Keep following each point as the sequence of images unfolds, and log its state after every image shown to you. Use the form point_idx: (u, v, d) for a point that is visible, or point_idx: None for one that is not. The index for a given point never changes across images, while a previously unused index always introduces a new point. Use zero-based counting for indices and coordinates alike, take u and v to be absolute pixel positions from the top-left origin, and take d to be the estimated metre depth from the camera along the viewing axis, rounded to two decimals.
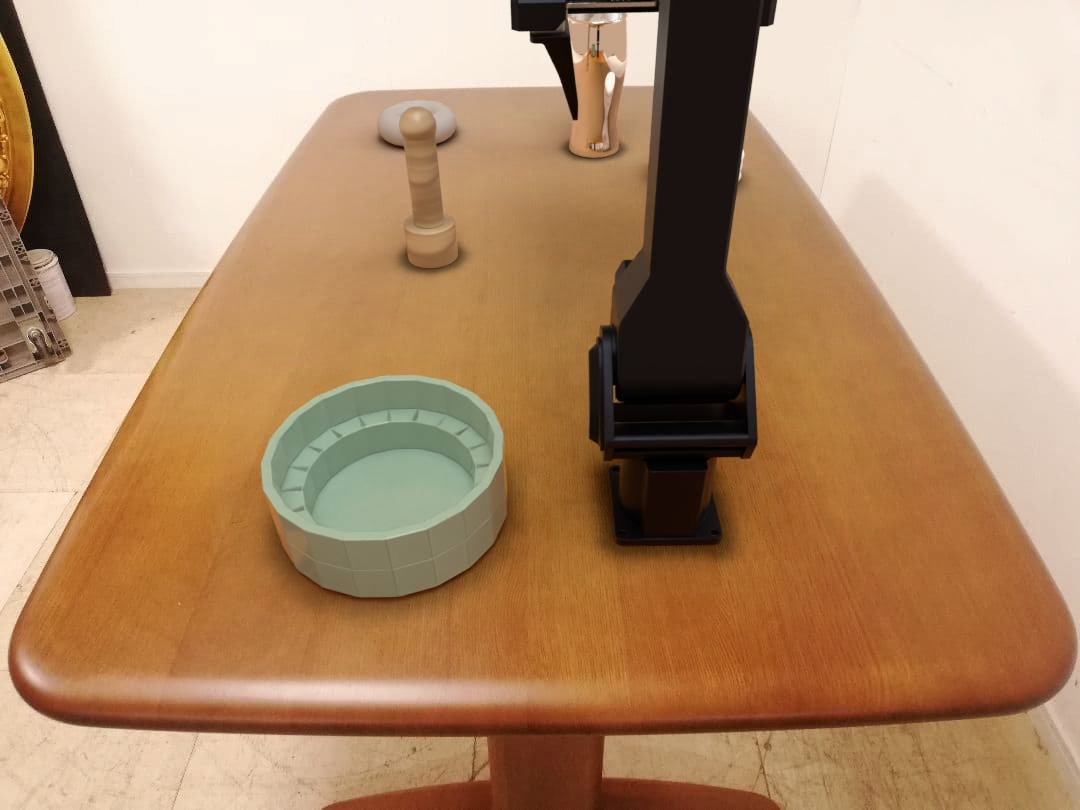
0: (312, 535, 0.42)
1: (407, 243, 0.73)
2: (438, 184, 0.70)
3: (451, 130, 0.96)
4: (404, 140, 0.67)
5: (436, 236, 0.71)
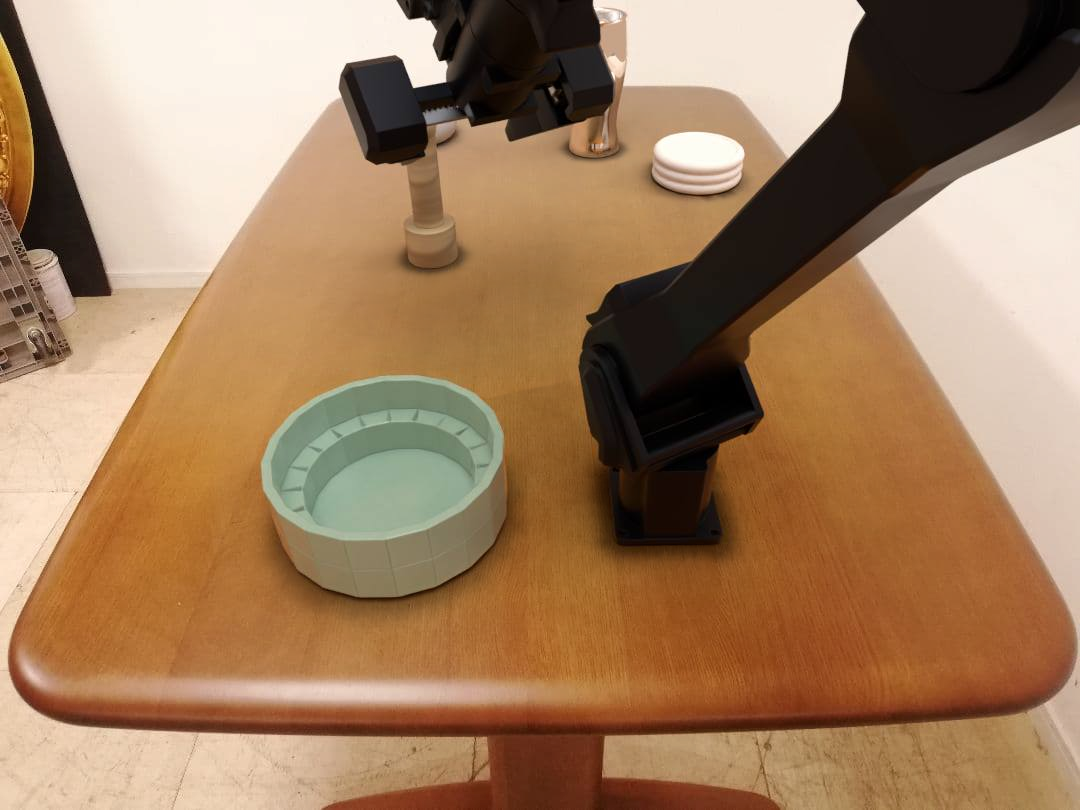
0: (312, 535, 0.42)
1: (407, 243, 0.73)
2: (438, 184, 0.70)
3: (451, 130, 0.96)
4: None
5: (436, 236, 0.71)
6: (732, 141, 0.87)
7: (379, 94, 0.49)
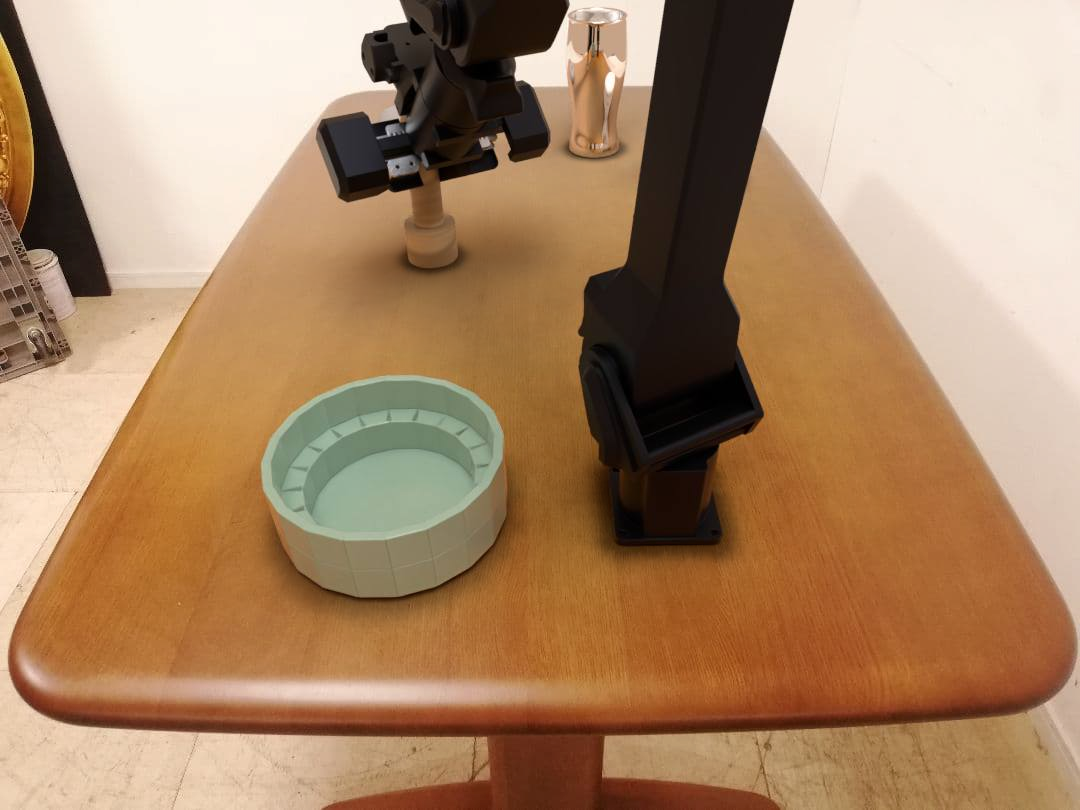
0: (312, 535, 0.42)
1: (407, 243, 0.73)
2: (438, 184, 0.70)
3: None
4: None
5: (436, 236, 0.71)
6: None
7: (349, 145, 0.59)
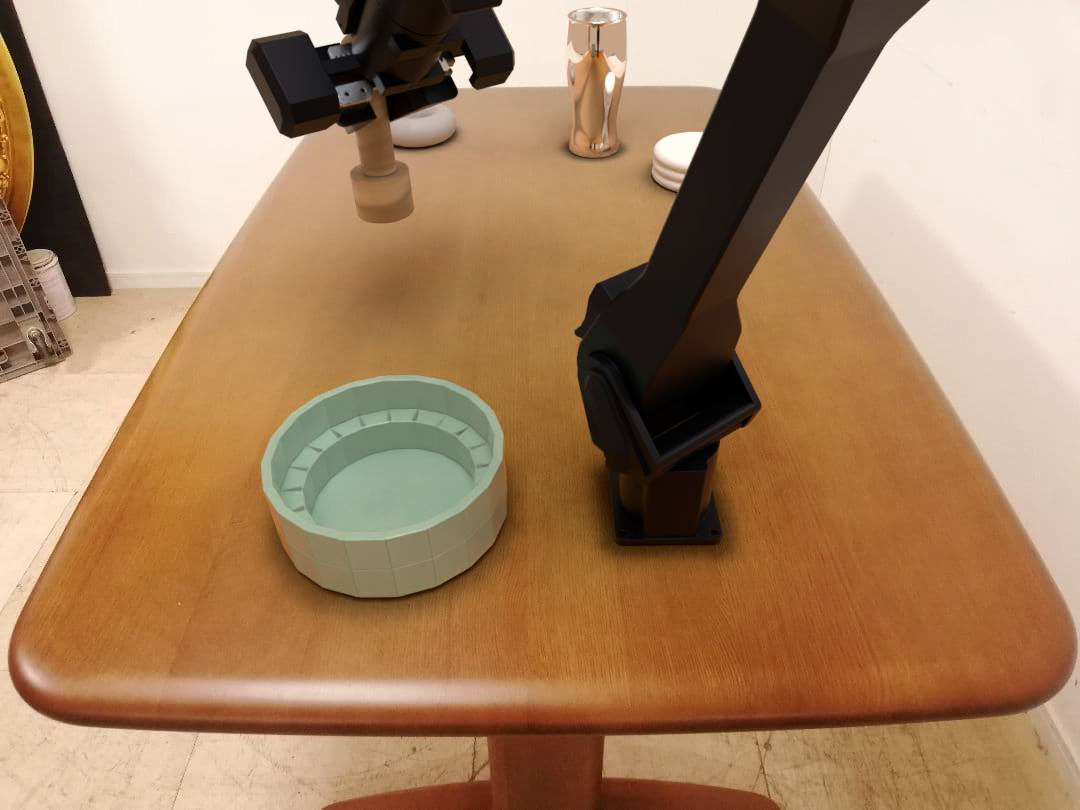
0: (312, 535, 0.42)
1: (356, 196, 0.64)
2: (388, 123, 0.61)
3: (451, 130, 0.96)
4: None
5: (391, 185, 0.63)
6: None
7: (288, 67, 0.50)
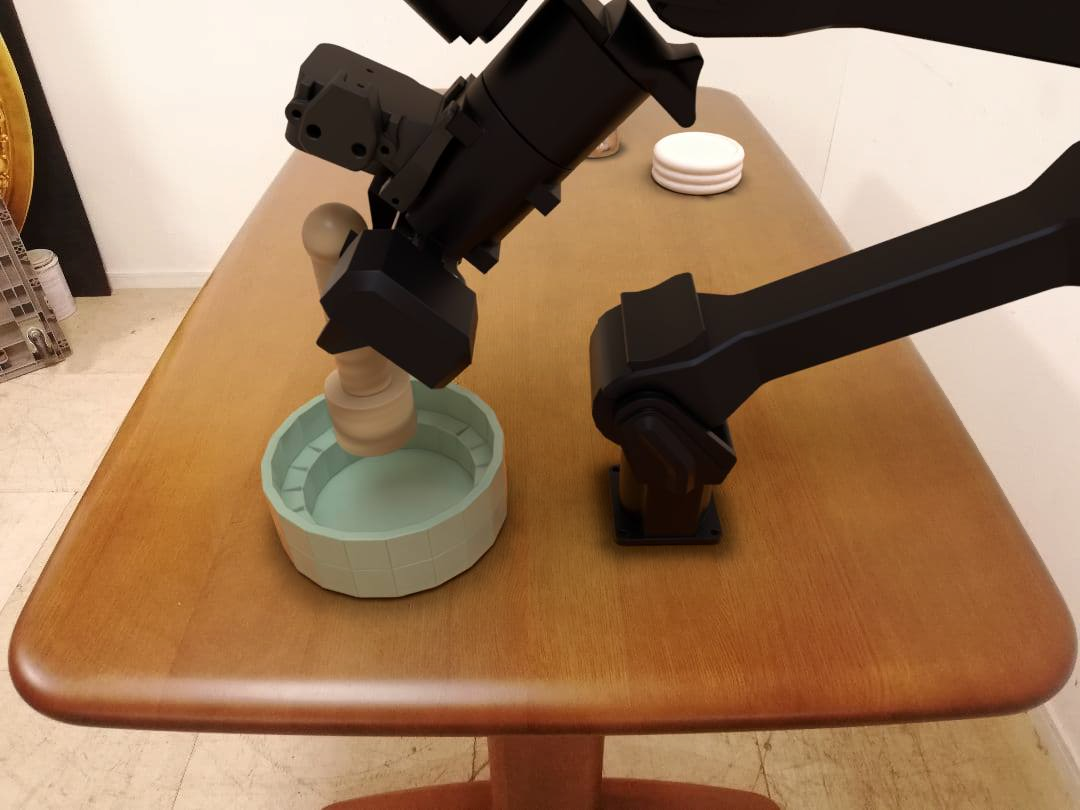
0: (312, 535, 0.42)
1: (362, 431, 0.43)
2: None
3: None
4: None
5: (408, 390, 0.44)
6: (732, 141, 0.87)
7: (425, 288, 0.31)
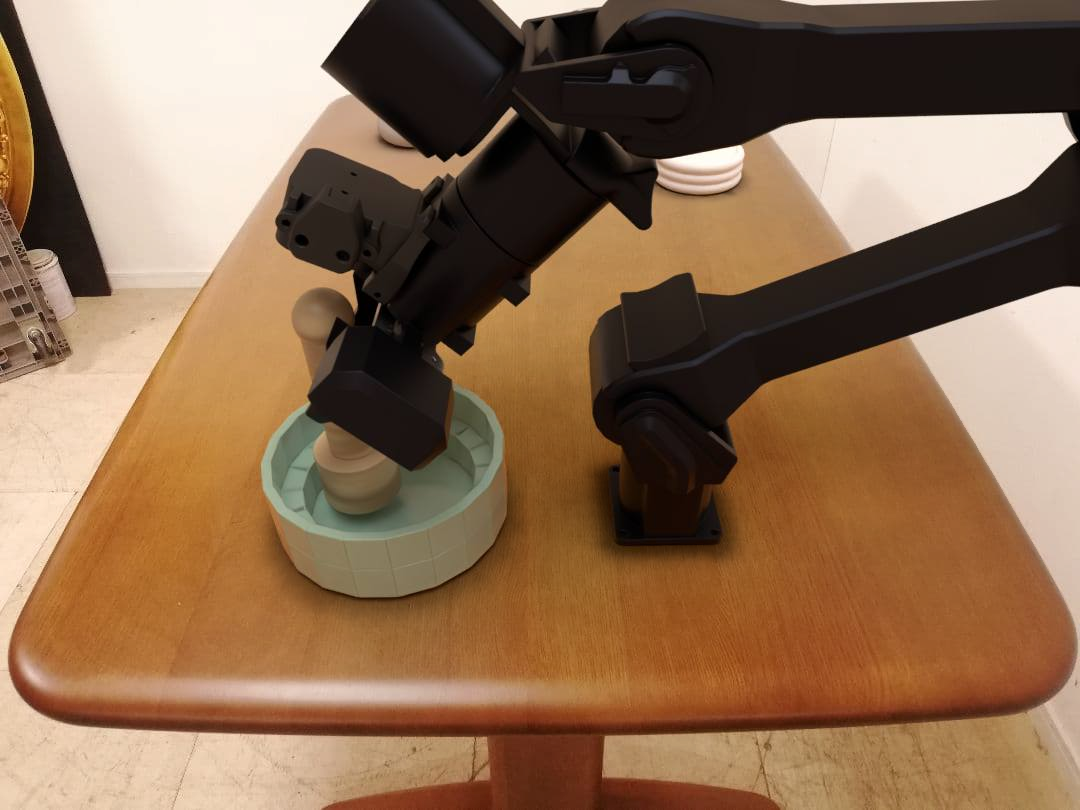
0: (312, 535, 0.42)
1: (349, 491, 0.46)
2: None
3: None
4: (321, 348, 0.40)
5: None
6: None
7: (404, 382, 0.34)
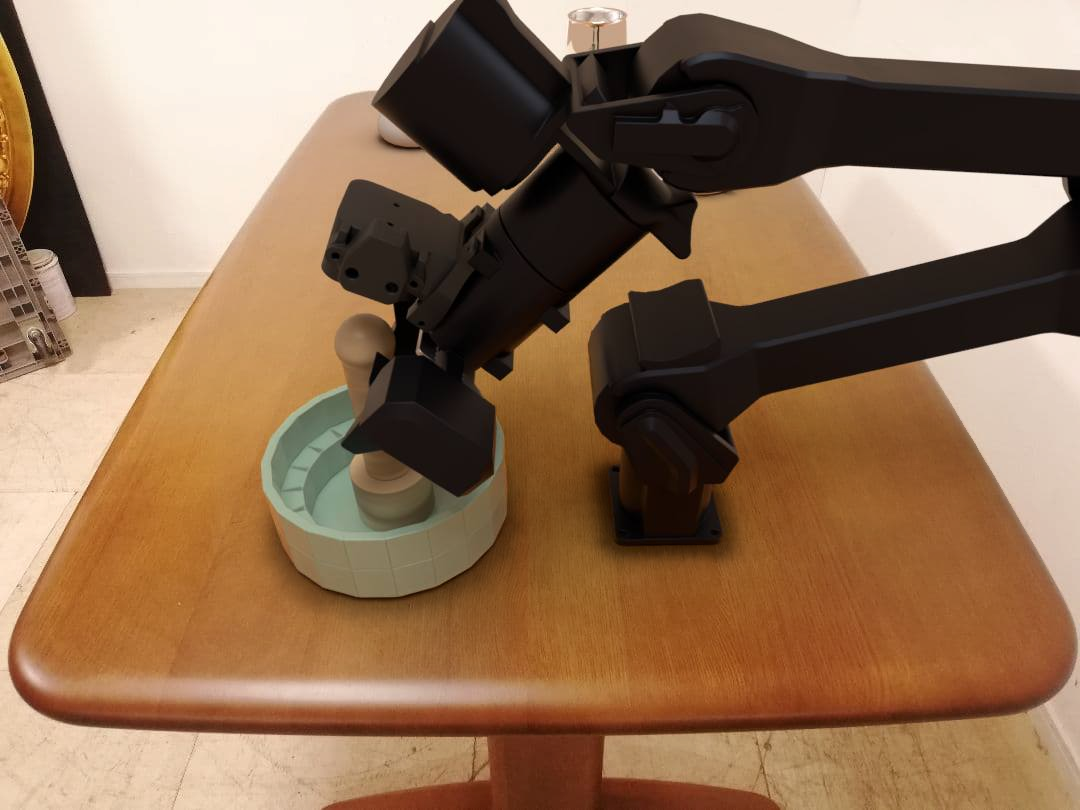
0: (312, 535, 0.42)
1: (386, 511, 0.46)
2: None
3: None
4: (364, 373, 0.41)
5: None
6: None
7: (452, 411, 0.34)
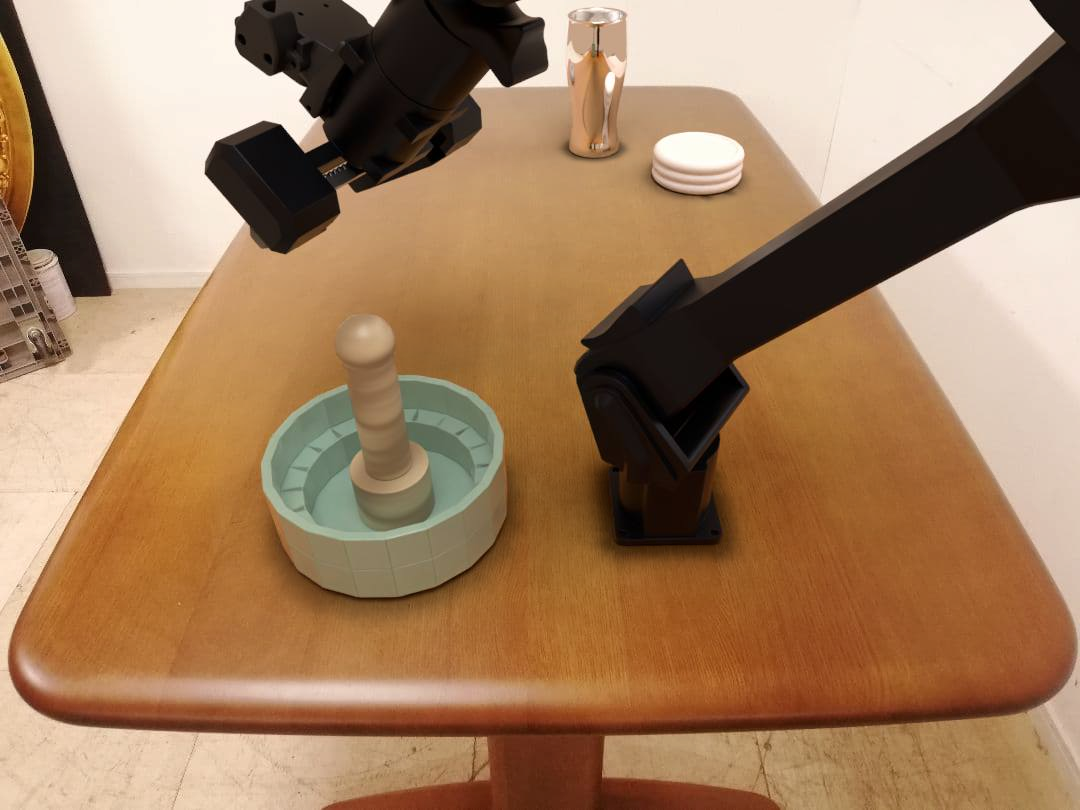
0: (312, 535, 0.42)
1: (386, 511, 0.46)
2: None
3: None
4: (364, 373, 0.41)
5: (428, 472, 0.47)
6: (732, 141, 0.87)
7: (275, 170, 0.40)
